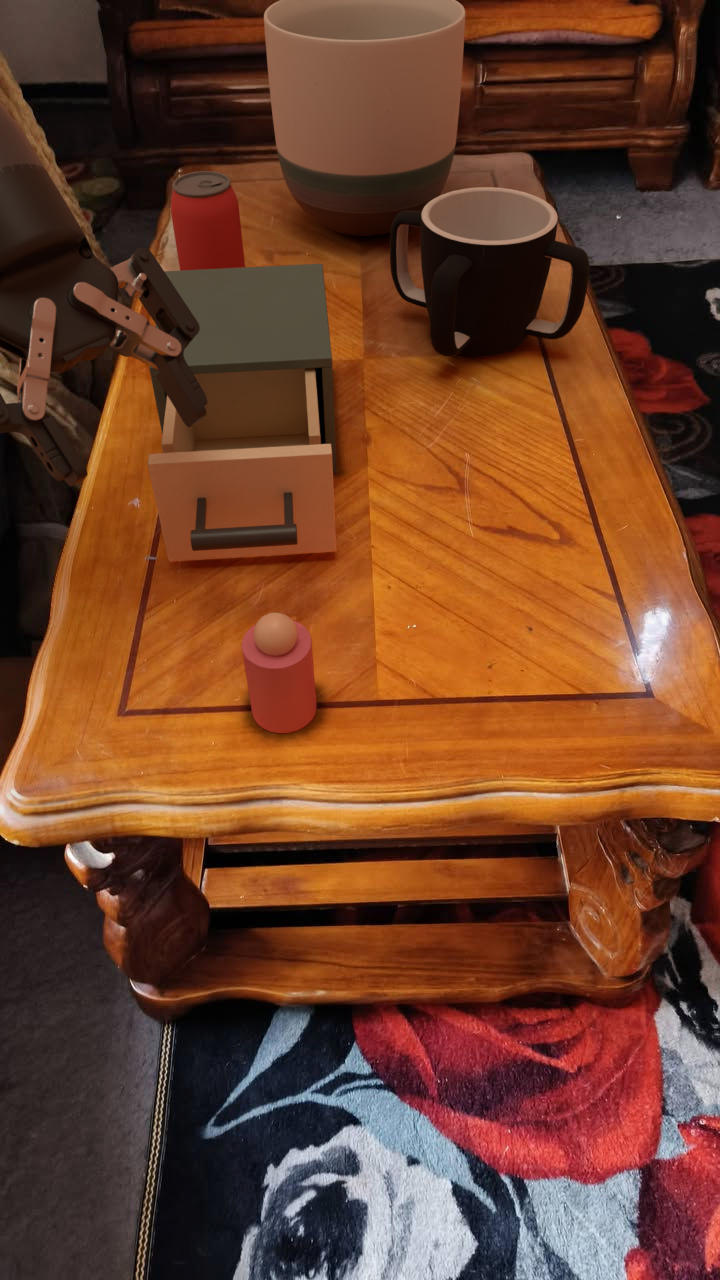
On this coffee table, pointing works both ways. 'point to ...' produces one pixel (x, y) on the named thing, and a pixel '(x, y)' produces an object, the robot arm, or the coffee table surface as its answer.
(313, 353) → the cabinet
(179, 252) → the beer can
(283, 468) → the drawer
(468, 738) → the coffee table surface
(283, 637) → the doll
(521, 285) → the mug
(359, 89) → the planter
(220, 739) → the coffee table surface
